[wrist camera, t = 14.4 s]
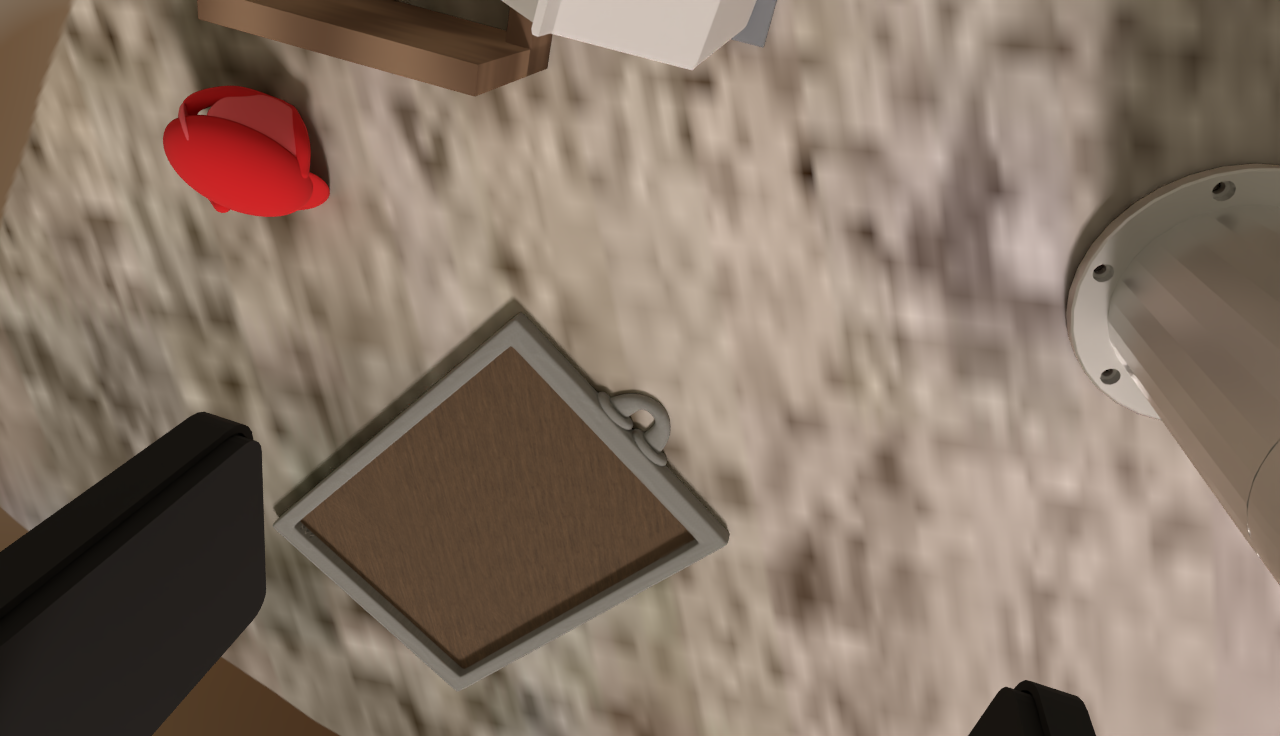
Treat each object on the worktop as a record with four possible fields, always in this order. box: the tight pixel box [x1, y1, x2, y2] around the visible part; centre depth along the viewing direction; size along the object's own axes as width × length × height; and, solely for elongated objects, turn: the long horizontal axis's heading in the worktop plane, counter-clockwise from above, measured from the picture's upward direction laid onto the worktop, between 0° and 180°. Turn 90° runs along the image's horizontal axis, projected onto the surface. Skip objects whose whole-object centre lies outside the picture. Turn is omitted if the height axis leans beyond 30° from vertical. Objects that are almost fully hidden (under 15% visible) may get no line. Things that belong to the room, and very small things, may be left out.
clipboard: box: [273, 312, 730, 691], centre depth 53 cm, size 19×2×30 cm
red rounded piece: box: [163, 86, 330, 217], centre depth 42 cm, size 8×6×6 cm
